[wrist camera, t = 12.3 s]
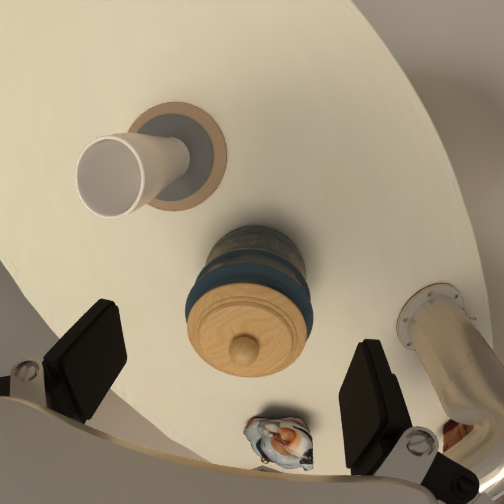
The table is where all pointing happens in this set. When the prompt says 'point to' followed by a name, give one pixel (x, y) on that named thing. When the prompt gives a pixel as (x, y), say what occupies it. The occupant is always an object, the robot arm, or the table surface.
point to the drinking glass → (127, 171)
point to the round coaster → (200, 148)
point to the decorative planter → (454, 433)
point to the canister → (250, 304)
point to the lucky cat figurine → (281, 442)
